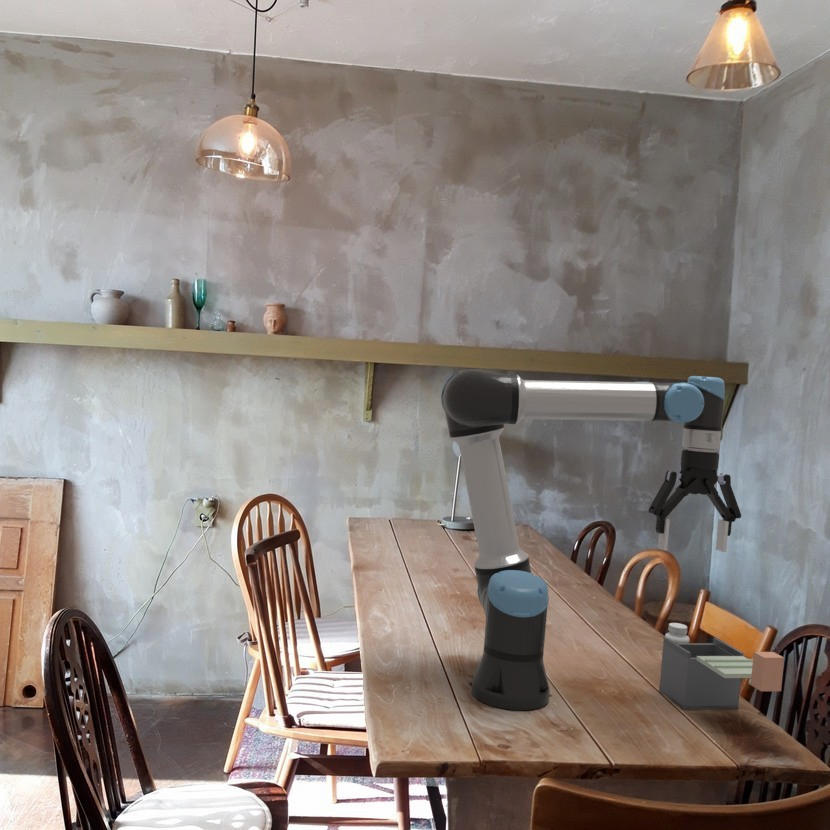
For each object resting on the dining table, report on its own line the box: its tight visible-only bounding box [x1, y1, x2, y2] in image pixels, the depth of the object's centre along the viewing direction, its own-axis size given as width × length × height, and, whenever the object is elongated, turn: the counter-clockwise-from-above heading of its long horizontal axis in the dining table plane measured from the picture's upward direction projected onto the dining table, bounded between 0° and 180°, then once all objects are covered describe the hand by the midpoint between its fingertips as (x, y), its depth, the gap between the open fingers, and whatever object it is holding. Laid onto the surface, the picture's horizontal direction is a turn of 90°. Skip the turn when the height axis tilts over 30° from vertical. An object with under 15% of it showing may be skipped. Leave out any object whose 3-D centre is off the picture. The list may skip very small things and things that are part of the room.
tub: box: [658, 636, 744, 710], centre depth 167 cm, size 12×10×11 cm
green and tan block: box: [696, 651, 785, 692], centre depth 153 cm, size 10×16×6 cm, turn 12°
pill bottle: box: [664, 622, 691, 643], centre depth 186 cm, size 5×5×10 cm
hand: (691, 550), depth 175 cm, fingers open, 13 cm apart
